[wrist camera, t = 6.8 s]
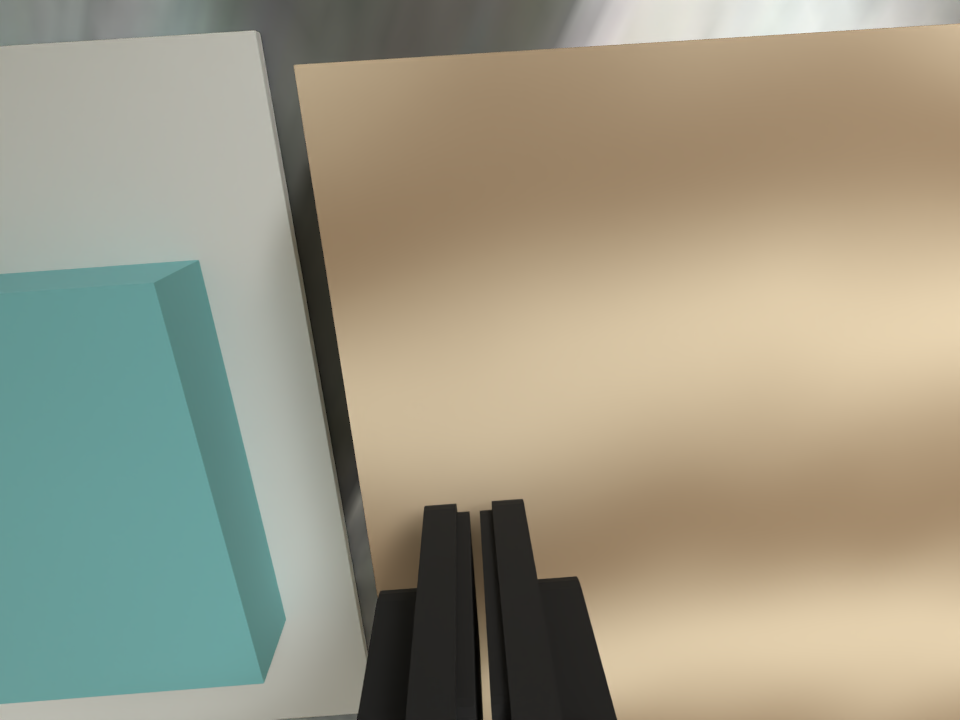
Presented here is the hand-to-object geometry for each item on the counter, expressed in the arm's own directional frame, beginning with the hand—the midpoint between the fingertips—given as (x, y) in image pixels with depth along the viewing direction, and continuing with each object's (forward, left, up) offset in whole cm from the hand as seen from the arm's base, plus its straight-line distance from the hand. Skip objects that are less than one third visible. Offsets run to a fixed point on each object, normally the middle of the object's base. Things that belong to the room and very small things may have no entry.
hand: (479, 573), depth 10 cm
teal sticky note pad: (0, -9, -3) cm, 9 cm away
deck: (0, +5, -5) cm, 7 cm away
